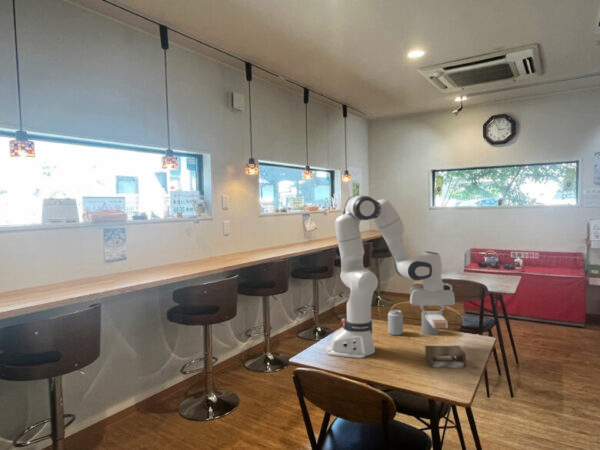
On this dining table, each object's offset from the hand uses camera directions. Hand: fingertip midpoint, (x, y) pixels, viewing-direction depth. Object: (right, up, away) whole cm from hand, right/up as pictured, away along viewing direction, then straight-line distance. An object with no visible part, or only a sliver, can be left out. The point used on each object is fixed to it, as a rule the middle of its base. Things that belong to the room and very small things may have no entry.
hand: (432, 314), depth 181 cm
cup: (+5, -14, +18) cm, 23 cm away
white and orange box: (-1, -2, -6) cm, 7 cm away
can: (-13, -14, +18) cm, 26 cm away
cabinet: (-2, -16, -20) cm, 26 cm away
